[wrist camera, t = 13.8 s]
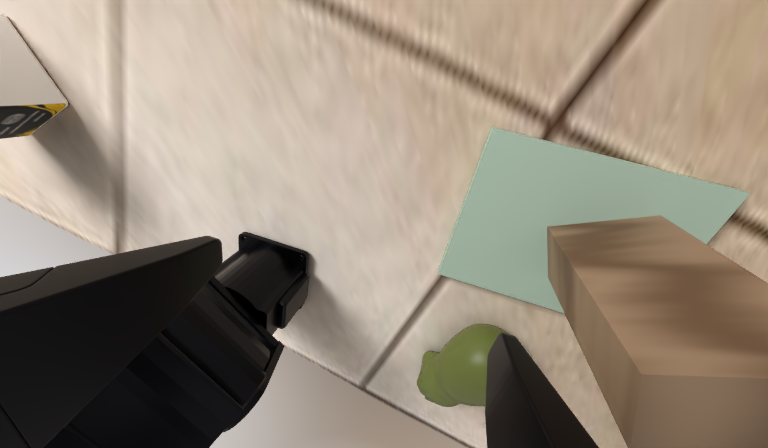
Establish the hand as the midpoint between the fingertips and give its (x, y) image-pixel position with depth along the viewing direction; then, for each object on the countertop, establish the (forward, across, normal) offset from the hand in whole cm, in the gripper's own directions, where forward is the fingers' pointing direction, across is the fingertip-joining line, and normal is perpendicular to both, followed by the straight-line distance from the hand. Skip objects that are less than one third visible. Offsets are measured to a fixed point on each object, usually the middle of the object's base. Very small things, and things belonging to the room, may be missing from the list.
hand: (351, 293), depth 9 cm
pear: (+13, -8, +14) cm, 21 cm away
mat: (+13, -11, +1) cm, 17 cm away
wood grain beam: (+12, -13, +1) cm, 18 cm away
